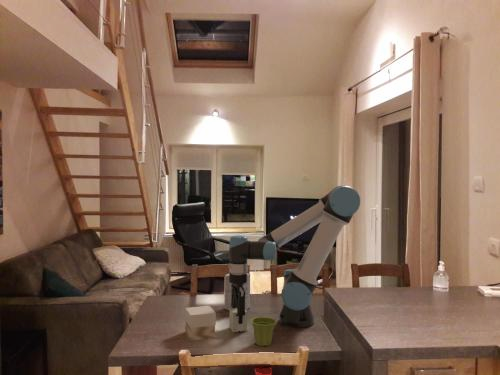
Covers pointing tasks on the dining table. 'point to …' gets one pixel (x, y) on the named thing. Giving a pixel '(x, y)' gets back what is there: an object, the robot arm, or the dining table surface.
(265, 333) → the plant pot
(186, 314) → the tower top block
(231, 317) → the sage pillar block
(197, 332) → the tower bottom block
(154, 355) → the dining table surface
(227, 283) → the supplement box
